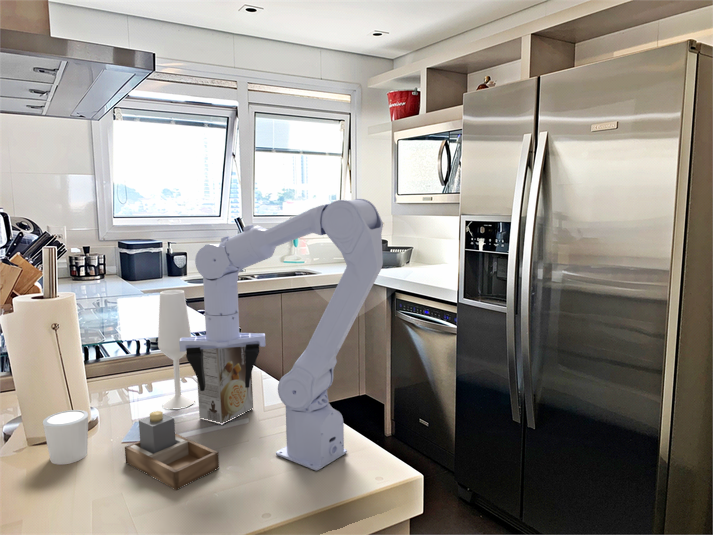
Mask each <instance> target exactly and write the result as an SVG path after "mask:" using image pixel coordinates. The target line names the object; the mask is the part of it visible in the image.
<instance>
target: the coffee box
mask: <svg viewBox="0 0 713 535" xmlns="http://www.w3.org/2000/svg"><path fill="white" fill-rule="evenodd" d="M203 366H204V375H205V391H200V386H199V382H198V379H197V378H196V381H197V382H196V383H197V395H198V396H197V397H198V411H199V412H198V413H199V419H200V418H204V419H208V420H212V421H216V422H220V423H223V422H226V421H228V420H230V419H232V418H234V417H237V416H238V415H240V414H242V413H244V412H246V411H248V410H250V409H252V408H253V409H254V398H253V397H254V396H253V376H252V374H253V372H252V373H251V377H250V383H249V387H248V388H245V373H246V364H245V347H229V348H213V349H203Z"/></svg>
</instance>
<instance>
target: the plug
mask: <svg viewBox="0 0 713 535" xmlns="http://www.w3.org/2000/svg"><path fill="white" fill-rule="evenodd" d="M175 424H176V423H175V418H174V417H173V416H169V415H168V414H165V413H163V411H161V410H157V411H156V410H155V411H153V412H150V413H149V416H147V417H145V418H142V419H139V420H138V428H139V430H138V431H139V441H140V447H141V448H142V449H144V450H146V451H148V452H150V453H152V454H154V453H156V452H159V451H161V450H163V449H166V448H168V447H171V446H173V445H175V444H176V440H175V434H176V425H175Z"/></svg>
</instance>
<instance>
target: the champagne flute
mask: <svg viewBox="0 0 713 535" xmlns="http://www.w3.org/2000/svg"><path fill="white" fill-rule="evenodd" d="M158 310H159V312H158V335H157V336H158V338H157V339H158V340H157V346H158V349H159V350H160V352H161V353H162V354H164V356H166V357H167V358H169V359H170V360H172V362H173V363H172V364H173V365H172V366H173V379H174V380H173V381H174V382H173V383H174V395H173V396H172V397H171V398H169V399H168V400H166V401H165V402H163V403H162V404H163V407H164V408H168V409H173V408H181V407H186V406H189V405H191V404H193V403H194V401H195V399H193V398H190V397H188V396H185V395H183V394H182V392H181V390H182V389H181V373H180V372H181V370H180V359H181V358H183V357H184V356H186V354H187V353H186V352H187V351H182V352H180V346H179V341H180V338H187V337H192V333H191V327H190V320H189V314H188V308H187V302H186V294H185V290H184V289H183V290H182V289H169V290H167V289H166V290H163V291H160V293H159V309H158ZM194 404H195V403H194ZM163 407H162V408H163ZM164 408H163V409H164Z"/></svg>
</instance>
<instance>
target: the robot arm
mask: <svg viewBox="0 0 713 535" xmlns="http://www.w3.org/2000/svg"><path fill="white" fill-rule="evenodd" d="M383 228H384V223H383V221H382V218H381V216H380V214H379V211H378V209H377V208H376V206H375V205H374V204H373V203H372V202H371V201H369V200H367V199H365V198H356V199H351V200H346V199H338V200H334V201H332V202H331V203H327V204H326V203H324V204H321V205H317V206H315V207H312V208H309V209H307V210H305V211H303V212H301V213H299V214H296V215H295V216H293V217H290V218H289V219H286V220H285V221H283V222H279V223H278V224H276V225H274V226H272V227H269V228H266V227H264V226H262V225H256V226H254V224H248V225H245V226H244V227H242V230H243V231H242V232H240V233H237V234H235V235H233V236H228V235H227V236H223V237H221V238H220V243H214V244H213V243H206V244H205V245H203V247H201V248H200V249H199V250H198V251H197V253H196V255H195V260H194V262H195V263H194V264H195V268H196V270H197V272H198V273H199V274H200V275H201V276H202V279H203V280H202V281H203V282H202V283H203V300H204V301H203V302H204V303H203V304H204V321H205V334H203V335H196V336H191V337H187V338H180V341H179V346H180V352H182V351H187V352H186V354H185V357H186V360H187V362H188V363H189V365H190V366H191V368H192V370H193V372H194V374H195V376H196V380H197V379H198V382H199V386H200V391H205V375H204V366H203V349H213V348H229V347H245V364H246V373H245V388H248V387H249V383H250V377H251V373H252V374H253V368H254V366H255V363H256V361H257V358H258V357H259V353H260V347H266V333H265V332H264V333H263V332H262V333H261V332H260V333H259V332H256V333H253V332H240V310H239V309H240V308H239V289H238V288H239V286H238V281H239V273H240V271H241V270H243V269H245V268H248V267H250V266H252V265H256V264H258V263H260V262H263V261H265V260H268V259H271V257H273V256H274V254H275V252H276V248H277V247H279V246H282V245H284V244H287V243H289V242H293V241H294V240H298V239H301V238H303V237H305V236H308V235H311V234H315V235H318V236H325V235H326V236H327V237H328V238H329V240H331V241H332V243H333V244H334V245H335V246H336V248H337V249H338V250H339V251H340V253H341V256H342V257H343V260H344V262H345V265H346V268H345V269H344V272H343V273H342V276H341V277H340V279H339V282H338V283H337V285H336V287H335V290H334V291H333V294H332V296H331V298H330V299H329V302H328V303H327V306H326V307H325V310H324V312H323V313H322V316H321V318H320V320H319V322H318V324H317V326H316V328H315V330H314V332H313V333H312V336H311V338H310V339H309V342H308V344H307V346H306V348H305V349H304V351H303V352H302V354H301V355H300V356H299V357H298V358H297V360H296V361H295V362H294V364H293V366H292V367H291V370H289V372H287V373H285V374H284V375H283V376H281V378H279V382H278V384H277V394H278V397H279V399H280V401H281V402H282V403H283V404H284V405H285V429H286V430H285V434H286V436H285V437H286V438H285V439H286V445H285V446H284V447H282V448H280V449H279V450H277V451H275V455H276V456H279V457H281V458H282V459H283V458H284V459H286V460H288V461H291V462H294V463H295V464H298V465H300V466H303V467H305V468H308V469H310V470H314V471H319V470H321V469H323V467H326V466H328V465H329V464H330V463H332V462H334V461H335V460H337V459H339V458H340V457H342V456H343V455H345V454H347V452H348V451H347V449H346V448H345V438H344V436H345V434H344V433H345V432H344V429H345V428H344V425H345V424H344V418H343V415H342V413H341V412H340V411H339V410H337V409H335V408H333V407H332V405H331V404H330V402H329V396H328V389H330V387H331V386H332V385H333V382H334V371H335V370H334V369H335V367H336V364H337V363H338V360H337V355H338V353H339V352H340V350H341V349H342V346H343V344H344V342H345V340H346V339H347V336H348V334H349V332H350V330H351V328H352V326H353V325H354V322H355V320H356V318H357V317H358V314H359V313H360V311H361V308H362V307H363V305H364V303H365V301H366V299H367V298H368V296H369V294H370V291H371V289H372V287H373V286H374V284H375V282H376V280H377V278H378V276H379V274H380V272H381V270H382V267H383V265H384V256H383V255H384V254H383V240H382V239H383V238H382V236H383V235H382V231H383Z"/></svg>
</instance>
